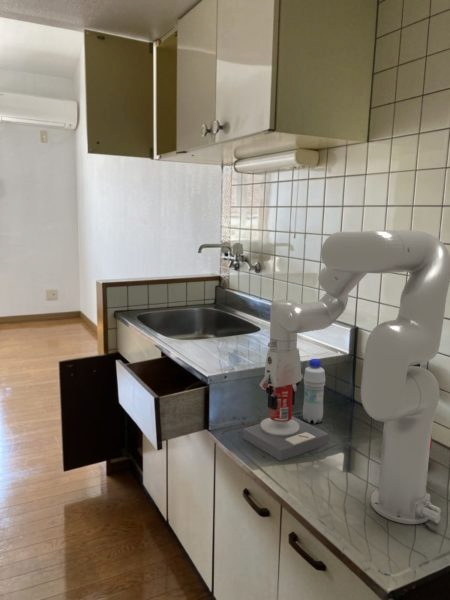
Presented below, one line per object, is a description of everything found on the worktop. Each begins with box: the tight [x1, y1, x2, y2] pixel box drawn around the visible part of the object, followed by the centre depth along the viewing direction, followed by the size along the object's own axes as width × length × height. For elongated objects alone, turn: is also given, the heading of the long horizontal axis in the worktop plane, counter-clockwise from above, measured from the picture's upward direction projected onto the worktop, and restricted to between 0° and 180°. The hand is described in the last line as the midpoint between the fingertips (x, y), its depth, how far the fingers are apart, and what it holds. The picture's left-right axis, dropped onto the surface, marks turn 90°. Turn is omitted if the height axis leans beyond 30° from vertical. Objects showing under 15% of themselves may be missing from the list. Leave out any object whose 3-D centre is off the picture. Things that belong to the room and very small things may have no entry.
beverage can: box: [268, 385, 293, 424], centre depth 136 cm, size 6×6×12 cm
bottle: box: [302, 358, 326, 424], centre depth 148 cm, size 7×7×20 cm
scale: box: [242, 415, 330, 462], centre depth 135 cm, size 16×18×4 cm
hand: (281, 405), depth 136 cm, fingers closed on beverage can, 6 cm apart
